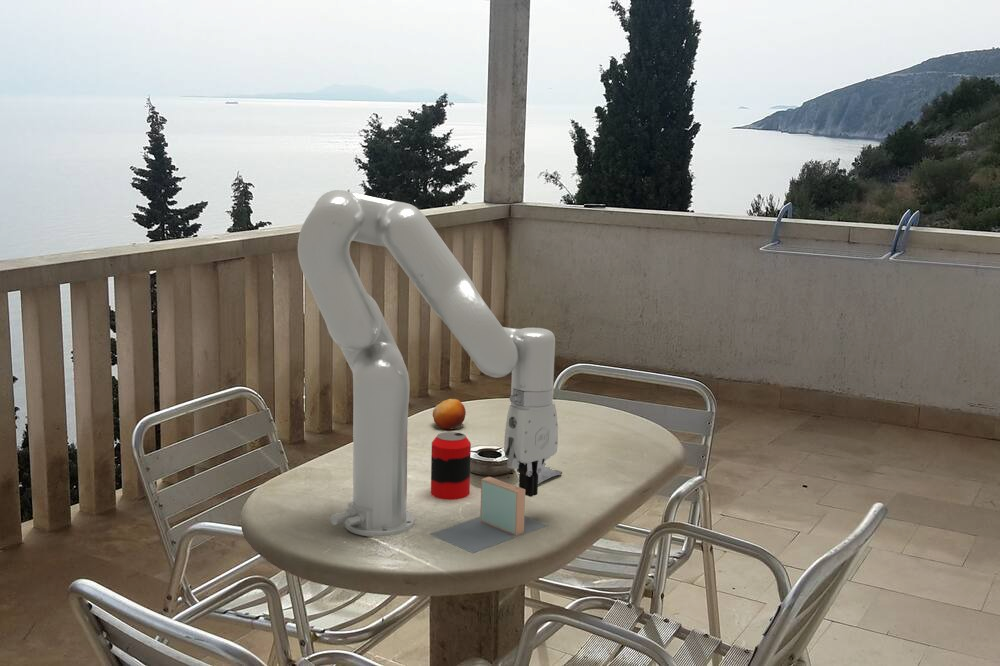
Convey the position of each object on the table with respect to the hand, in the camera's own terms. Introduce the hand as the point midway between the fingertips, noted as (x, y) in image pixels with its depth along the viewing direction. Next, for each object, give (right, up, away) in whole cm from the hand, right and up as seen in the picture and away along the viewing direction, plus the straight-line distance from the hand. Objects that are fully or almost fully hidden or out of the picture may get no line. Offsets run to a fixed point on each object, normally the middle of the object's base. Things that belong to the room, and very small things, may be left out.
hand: (528, 493), depth 185 cm
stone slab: (+1, -1, +25) cm, 25 cm away
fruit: (-18, +6, +59) cm, 62 cm away
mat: (-7, -6, -5) cm, 11 cm away
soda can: (-15, -2, +13) cm, 20 cm away
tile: (-5, -5, -4) cm, 8 cm away
